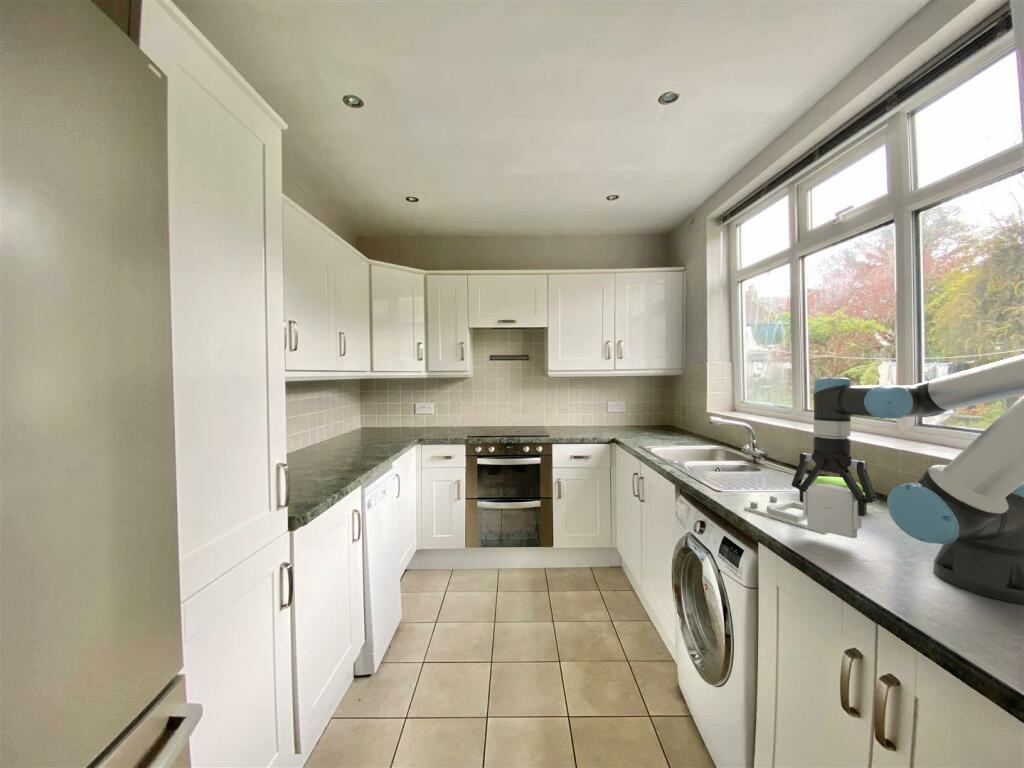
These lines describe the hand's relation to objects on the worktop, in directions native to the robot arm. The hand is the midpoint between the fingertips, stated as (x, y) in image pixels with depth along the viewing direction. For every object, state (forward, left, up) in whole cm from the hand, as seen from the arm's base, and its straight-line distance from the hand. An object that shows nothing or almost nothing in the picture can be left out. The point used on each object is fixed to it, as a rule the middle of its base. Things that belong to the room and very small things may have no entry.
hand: (831, 521), depth 102 cm
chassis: (+15, -14, -6) cm, 21 cm away
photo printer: (0, 0, -3) cm, 3 cm away
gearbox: (+12, -34, -6) cm, 37 cm away
